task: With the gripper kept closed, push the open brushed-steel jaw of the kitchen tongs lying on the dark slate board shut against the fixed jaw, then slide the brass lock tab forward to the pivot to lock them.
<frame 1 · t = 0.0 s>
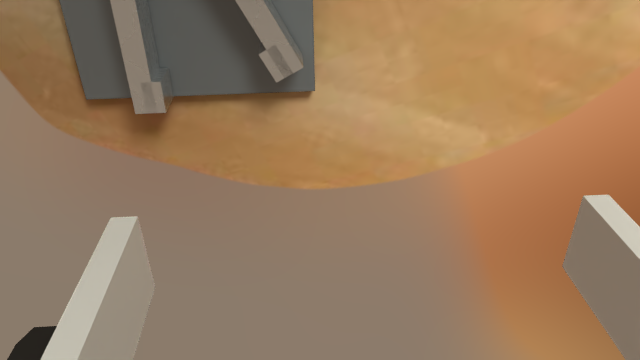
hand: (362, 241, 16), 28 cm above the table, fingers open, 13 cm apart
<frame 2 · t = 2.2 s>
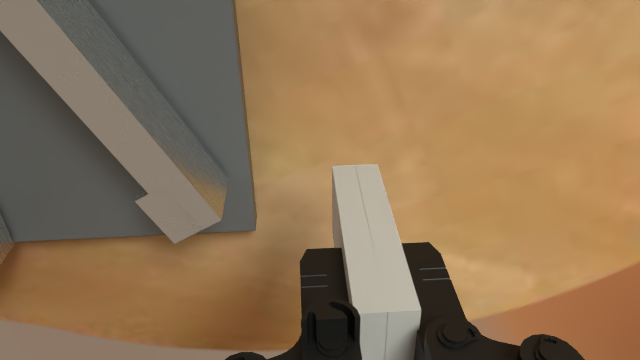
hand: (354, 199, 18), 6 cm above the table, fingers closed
tongs jaw: (74, 59, 18), point 3 cm above the table, hinge at 28.0°
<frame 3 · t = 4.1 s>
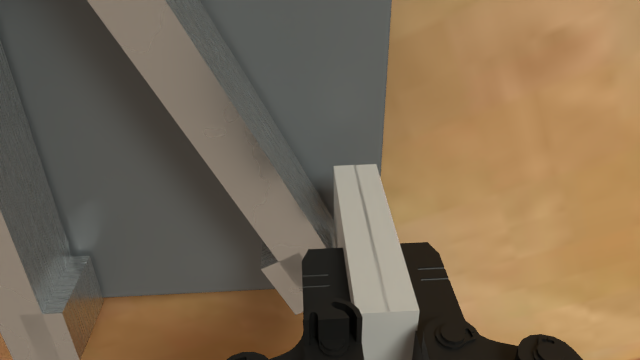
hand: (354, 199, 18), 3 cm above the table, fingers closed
tongs jaw: (208, 107, 15), point 3 cm above the table, hinge at 26.3°, touching gripper
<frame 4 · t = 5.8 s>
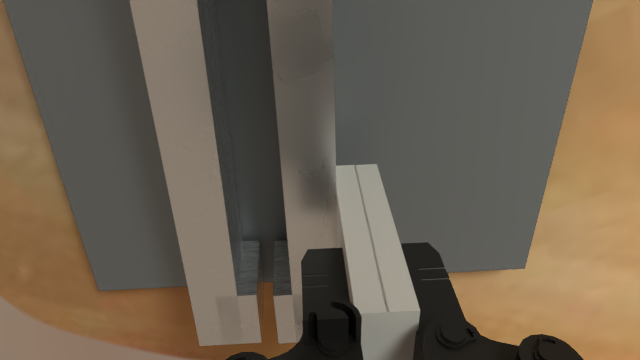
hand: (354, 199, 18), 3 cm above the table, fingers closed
tongs jaw: (296, 141, 16), point 3 cm above the table, hinge at 1.1°, touching gripper
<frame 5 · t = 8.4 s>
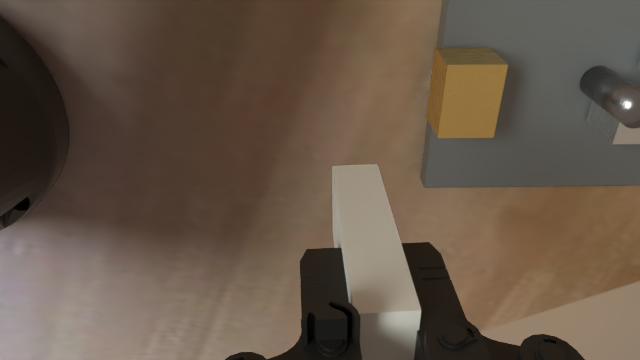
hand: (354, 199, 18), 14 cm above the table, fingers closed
lock tab: (464, 92, 28), point 3 cm above the table, slide at 0.0 cm
tongs fixed: (585, 73, 30), resting on board
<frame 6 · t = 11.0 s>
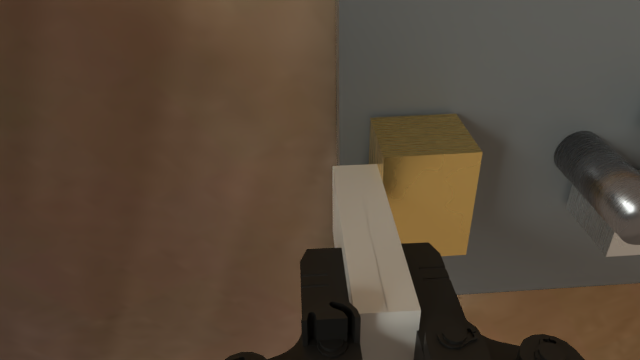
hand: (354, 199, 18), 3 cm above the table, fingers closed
lock tab: (417, 186, 18), point 3 cm above the table, slide at 1.5 cm, touching gripper
tongs fixed: (562, 137, 21), resting on board
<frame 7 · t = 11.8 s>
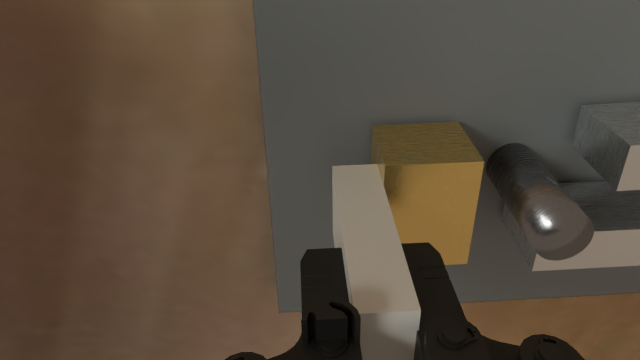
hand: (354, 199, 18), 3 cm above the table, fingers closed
lock tab: (419, 194, 18), point 3 cm above the table, slide at 4.2 cm, touching gripper
tongs fixed: (498, 149, 20), resting on board
board: (612, 97, 19), on the table
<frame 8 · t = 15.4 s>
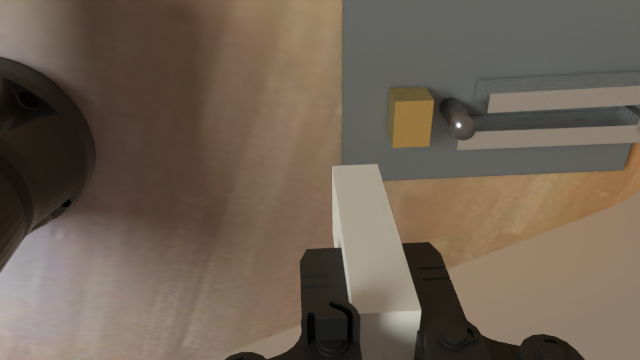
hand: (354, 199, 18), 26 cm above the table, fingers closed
lock tab: (409, 117, 42), point 3 cm above the table, slide at 4.2 cm
tongs jaw: (574, 94, 42), point 3 cm above the table, hinge at 1.0°
tongs fixed: (446, 101, 45), resting on board
board: (495, 77, 44), on the table
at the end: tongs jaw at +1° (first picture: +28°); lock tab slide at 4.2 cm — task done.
